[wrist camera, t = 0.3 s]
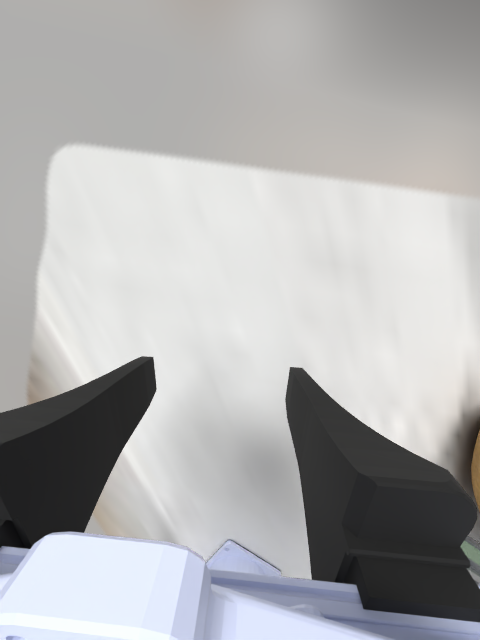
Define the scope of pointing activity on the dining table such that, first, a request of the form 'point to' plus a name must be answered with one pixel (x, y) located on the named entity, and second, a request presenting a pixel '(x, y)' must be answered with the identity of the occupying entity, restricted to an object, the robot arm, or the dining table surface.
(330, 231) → the dining table surface
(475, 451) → the potato
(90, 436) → the robot arm
